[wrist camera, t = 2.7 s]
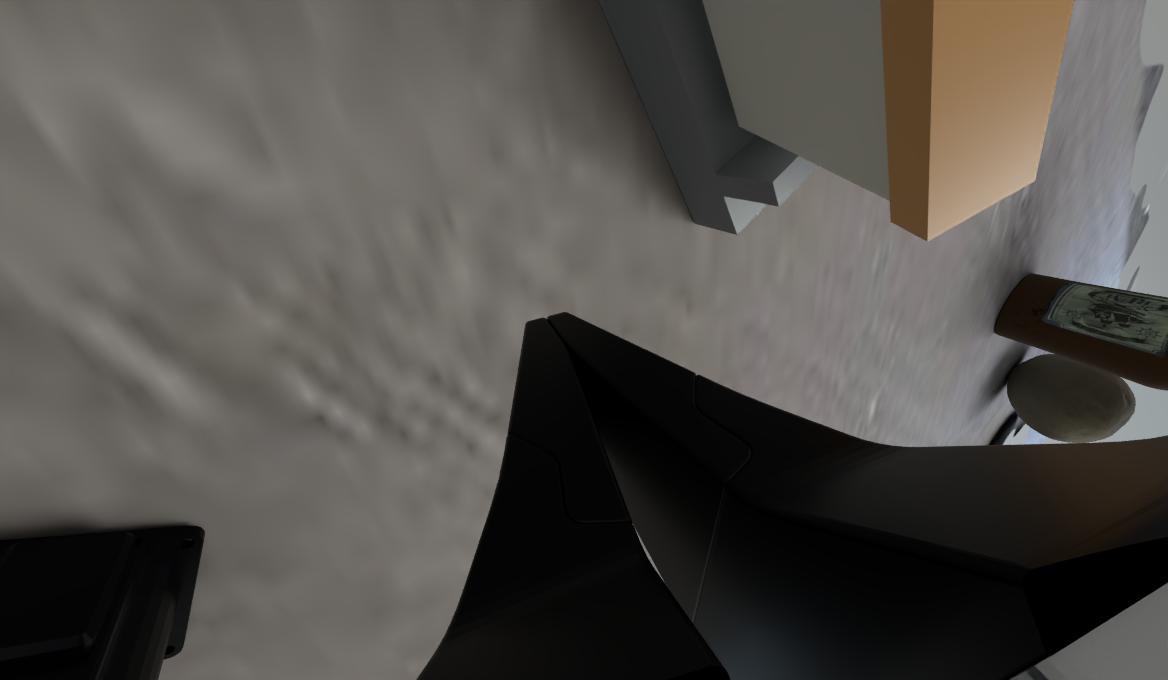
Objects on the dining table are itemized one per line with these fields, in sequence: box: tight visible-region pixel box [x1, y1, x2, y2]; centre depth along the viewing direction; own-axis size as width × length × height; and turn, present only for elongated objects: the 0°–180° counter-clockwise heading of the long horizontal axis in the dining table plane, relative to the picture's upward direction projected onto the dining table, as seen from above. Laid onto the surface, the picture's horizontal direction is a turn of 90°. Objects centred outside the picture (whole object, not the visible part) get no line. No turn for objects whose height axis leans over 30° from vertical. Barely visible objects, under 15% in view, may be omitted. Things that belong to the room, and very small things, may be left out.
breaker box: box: [599, 0, 818, 235], centre depth 16 cm, size 8×16×7 cm, turn 36°
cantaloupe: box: [1007, 354, 1135, 443], centre depth 74 cm, size 14×14×15 cm
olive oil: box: [995, 274, 1168, 390], centre depth 52 cm, size 11×11×25 cm
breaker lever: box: [702, 0, 1074, 242], centre depth 12 cm, size 3×7×10 cm, turn 35°
